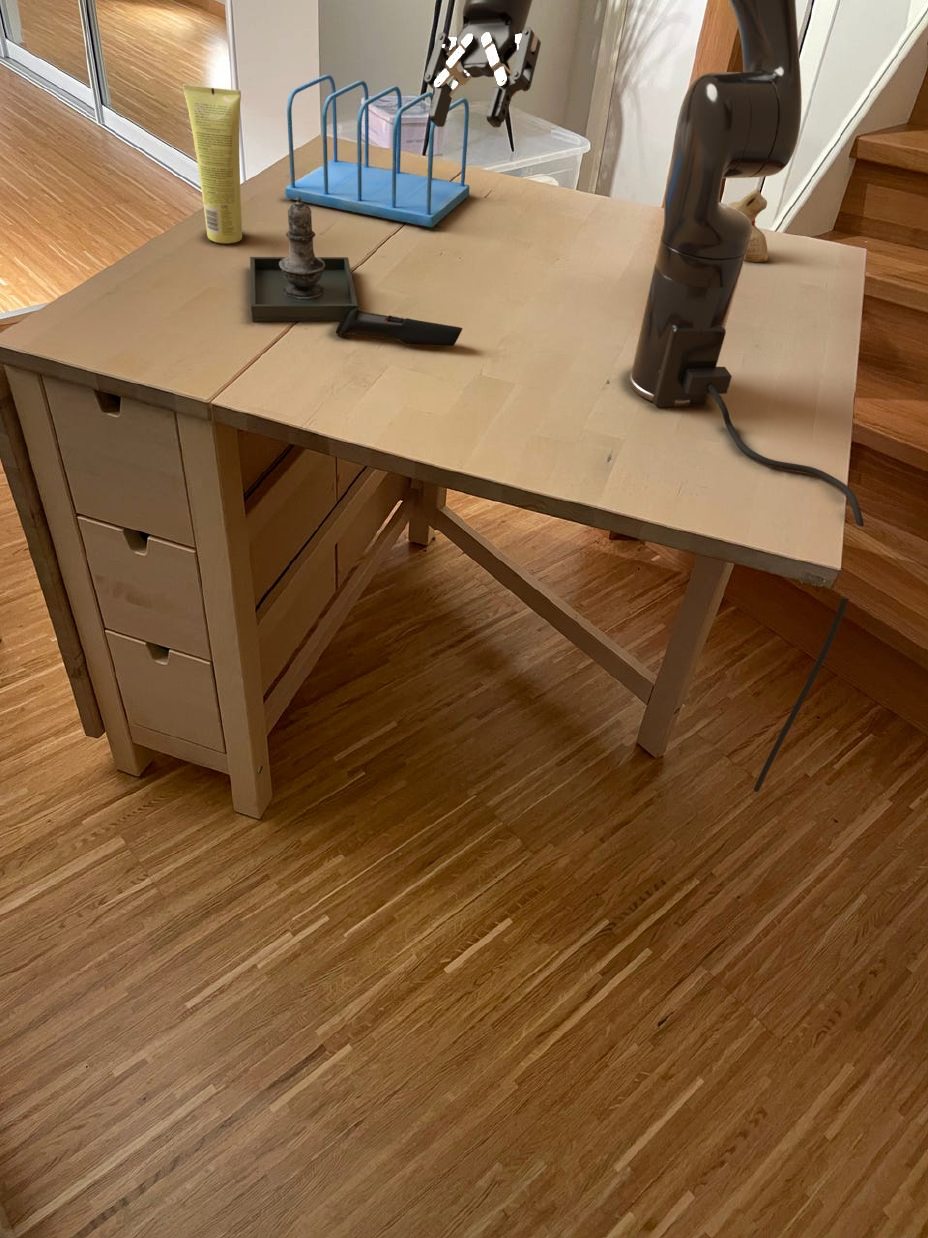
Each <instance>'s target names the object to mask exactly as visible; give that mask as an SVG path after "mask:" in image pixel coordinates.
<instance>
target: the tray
mask: <svg viewBox="0 0 928 1238" xmlns="http://www.w3.org/2000/svg"><path fill="white" fill-rule="evenodd" d="M285 257H286V256H250V257H249V265H250V266H249V270H250V271H249V276H250V280H249V281H250V312H251V322H340V321H341V319H342V317H343V316H344V314H345V312H346V311H347V309H348V310H350V311H352V310H354V309H356V308H357V309H359V304H358V299H357V295H356V290H355V285H354V280H353V279H354V278H353V274H352V270H351V265H350V259H349V257H348V256H317V257H318V258H320V259H321V260H323V261H324V263H325V268H324V269H323V273H322V276H321V279H320V280H319V281H318V282H317V284H319V285H320V286H321V287H322V288H323V290H324V291H323V294H322V295H321V296H319V297H317V298H313V299H295V298H291V297H289V296H287V295H285V294H284V292H283V288H284V287H285V285H287V284H288V283H289V282H288V281H287V280H286V279H285V277H284V275H283V273H282V269H281V268H280V266H279V262H280V261H281V260H282V259H283V258H285Z"/></svg>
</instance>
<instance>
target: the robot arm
mask: <svg viewBox="0 0 928 1238" xmlns="http://www.w3.org/2000/svg"><path fill="white" fill-rule="evenodd" d="M464 1H465V2H464V4H463V5H464V6H463V10H462V28H461V31H460V32H459V34H458V35H457V37H450V36H448V35H447V34H446V33H445V32H444V31H443V32H440V33H438V35H437V37H436V40H435V43H434V47H433V50H432V53H431V56H430V59H429V61H428V64H427V67H426V71H425V74H424V77H423V80H424V82H425V83H426V84H427V85H428V86H429V87H430V88H431V89H432V90H433V91H434V92H433V95H434V96H433V99H432V104H431V103H430V107H429V111H428V116H429V120H430V122H431V121H432V122H433V123H434V124H435V127H437V128H443V127H445V125H446V121H447V118H448V113H449V112H450V111H449V107H450V105H451V104H452V99H453V98H452V96H453V95H454V94H455V92H456V91H457V90H458V89H459V88H460V87H461V86H465V85H466V84H467V83H469V81H470V80H471V79H472V78H473V79H475V78H480V77H486V78H494V77H495V79H496V82H497V86H495V87H494V88H493V91H492V96H491V99H490V102H489V106H488V109H487V113H486V121H487V122H488V123H489V125H490V126H492V128H501V127H502V124H503V123H504V122H505V120H506V118H507V116H508V112H509V108H510V106H511V105H510V104H511V101H512V98H513V97H514V96H515V95H516V94H517V93H518V92H519V91H522V92H527V91H529V90H530V89H531V86H532V82H533V79H534V75H535V71H536V66H537V63H538V62H537V61H538V57H539V54H540V49H541V45H542V42H541V40H540V39H539V38H538V35H536V33H535V32H534V31H533V30H532V28H531V27H529V26H526V24H527V21H528V18H529V14H530V11H531V6H532V3H533V0H464ZM727 1H728V3H729V5H730V7H731V9H732V11H733V14H734V18H735V20H736V24H737V28H738V32H739V38H740V45H741V53H742V54H741V56H742V70H743V71H715V72H705V73H703V74H700V75H699V76H698V77H696V78H695V80H693V82H692V83H691V84H690V86H689V87H688V89H687V91H686V93H685V95H684V98H683V100H682V104H681V106H680V110H679V114H678V118H677V122H676V127H675V128H676V129H675V133H674V140H673V146H672V152H671V159H670V164H669V169H668V170H669V172H668V177H667V182H666V188H665V194H664V202H663V225H662V231H661V235H660V240H659V243H658V249H657V253H656V257H655V263H654V266H653V270H652V271H653V272H652V276H651V281H650V285H649V289H648V294H647V298H646V303H645V308H644V313H643V317H642V321H641V326H640V331H639V334H638V340H637V344H636V350H635V354H634V358H633V359H634V360H633V364H632V368H631V370H630V373H629V378H628V383H629V386H630V388H631V389H632V390H633V392H635V393H636V394H637V395H638V396H640V397H642V398H644V399H646V400H648V401H650V402H652V403H653V405H654V406H655V407H657V408H662V407H664V408H665V407H666V408H667V407H668V408H669V407H699V406H706V405H707V404H706V403H707V400H708V396H709V395H711V396H712V398H713V399H714V400H715V402H716V404H717V406H718V407H719V409H720V411H721V415H722V418H723V422H724V424H725V427H726V429H727V431H728V432H729V434H730V436H731V438H732V440H733V441H734V442H735V445H736V446H737V448H738V449H739V450H740V451H741V452H742V453H743V454H744V455H746V456H748V457H749V458H751V459H752V460H754V461H757V462H758V463H760V464H763V465H766V466H769V467H773V468H777V469H780V470H781V469H782V470H787V471H788V470H789V471H795V472H800V473H805V474H809V475H813V476H815V477H818V478H820V479H822V480H824V481H825V482H827V483H829V484H830V485H832V486H834V487H836V488H837V489H838V490H840V491H841V492H842V493H843V494H844V495H845V496H846V498H847V500H848V501H849V504H850V506H851V509H852V513H853V516H854V520H855V524H856V525H857V526H859V527H864V526H865V523H864V518H863V514H862V511H861V508H860V507H861V506H860V505H859V502H858V500H857V497H856V496H855V493H854V492H853V491H852V489H851V488H850V487H849V486H848V485H847V484H845V483H844V482H843V481H841V480H839V479H838V478H836V477H834V476H833V475H830V474H829V473H827V472H825V471H823V470H821V469H818V468H816V467H812V466H808V465H803V464H798V463H793V462H792V463H791V462H786V461H780V460H775V459H772V458H768V457H766V456H764V455H761V454H759V453H758V452H756V451H754V450H753V449H751V448H749V447H748V446H747V445H746V444H745V443H744V441H742V439H741V438H740V436H739V434H738V432H737V431H736V429H735V426H734V425H733V422H732V420H731V416H730V412H729V409H728V408H727V405H726V402H724V400H723V398H722V396H721V395H727V393H728V392H729V391H728V390H729V387H730V384H731V381H732V378H733V377H732V376H733V375H732V374H731V373H730V371H729V370H728V369H727V367H726V366H717V365H718V362H719V358H720V354H721V351H722V348H723V344H724V340H725V337H726V333H727V330H726V325H727V322H728V318H729V315H730V312H731V308H732V306H733V305H732V304H733V301H734V297H735V294H736V290H737V286H738V283H739V280H740V277H741V273H742V270H743V266H744V263H745V261H744V259H745V256H746V252H747V249H748V246H749V242H750V239H751V235H752V223H751V221H750V219H749V218H748V217H747V216H746V215H745V214H743V213H742V212H740V211H739V210H737V209H735V208H733V207H731V206H728V205H729V204H726V203H723V202H720V196H721V190H722V189H721V188H722V183H723V179H749V178H765V177H766V178H767V177H772V176H775V175H777V174H779V173H781V172H782V171H783V170H784V169H785V168H786V167H787V166H788V164H789V162H790V161H791V159H792V157H793V156H794V153H795V151H796V147H797V144H798V141H799V135H800V130H801V122H802V103H803V102H802V100H803V99H802V97H803V96H802V95H803V94H802V77H801V62H800V47H799V35H798V22H797V21H798V19H797V5H796V3H797V2H796V0H727ZM515 54H516V57H515V61H514V64H513V69H512V68H511V65H510V61H509V60H511V58H512V57H513V56H514V55H515ZM459 64H460V66H461V68H462V69H463V70H462V71H460V70H459V69H458V65H459ZM452 77H453V78H452ZM451 78H452V79H451ZM450 79H451V80H450ZM449 80H450V81H449ZM447 82H448V83H447ZM448 111H449V112H448ZM849 600H850V598H849V597H848V598H842V599H840V602H839V605H838V608H837V611H836V613H835V616H834V619H833V621H832V624H831V627H830V629H829V632H828V635H827V636H826V639H825V642H824V644H823V646H822V649H821V650H820V653H819V655H818V657H817V659H816V661H815V664H814V665H813V668H812V670H811V672H810V674H809V676H808V678H807V680H806V682H805V684H804V685H803V688H802V690H801V692H800V695H798V698H797V700H796V702H795V704H794V706H793V708H792V710H791V712H790V713H789V716H788V717H787V719H786V721H785V724H784V725H783V727H782V729H781V731H780V733H779V735H778V737H777V739H776V741H775V743H774V744H773V747H772V749H771V751H770V753H769V755H768V757H767V760H766V762H765V763H764V765H763V768H762V770H761V772H760V774H759V776H758V778H757V780H756V782H755V785H754V787H753V791H754V792H755V793H759V792H760V790H761V788H762V786H763V784H764V781H765V779H766V777H767V774H768V772H769V770H770V768H771V767H772V765H773V762H774V760H775V758H776V756H777V754H778V752H779V751H780V748H781V747H782V744H783V742H784V741H785V739H786V736H787V735H788V733H789V731H790V729H791V727H792V725H793V724H794V721H795V720H796V717H797V716H798V713H799V712H800V710H801V708H802V706H803V704H804V702H805V700H806V698H807V697H808V694H809V693H810V692H811V691H810V690H811V688H812V686H813V684H814V683H815V681H816V678H817V676H818V674H819V673H820V671H821V668H822V666H823V664H824V662H825V660H826V658H827V656H828V654H829V651H830V649H831V646H832V644H833V641H834V640H835V638H836V635H837V633H838V630H839V628H840V624H841V622H842V619H843V617H844V614H845V611H846V609H847V605H848V602H849Z"/></svg>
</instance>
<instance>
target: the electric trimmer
mask: <svg viewBox="0 0 928 1238" xmlns="http://www.w3.org/2000/svg"><path fill="white" fill-rule="evenodd" d="M462 331H463V328H462V327H460V326H454V325H448V324H442V323H436V322H430V321H426V320H425V321H424V320H419V319H412V318H407V317H406V318H404V317H397V316H393V315H390V314H389V315H386V314H385V315H384V314H378V313H373V312H365V311H362V310H360V309H359V308H358V309H357V308H356V309H354V310H352V311H350V310H348V309H347V311H346V312H345V314H344V316H343V317H342V319H341V321H339V323H338V325H337V327H336V330H335V335H339V336H340V337H341V338H344V337H345V335H347V334H351V335H358V336H364V337H365V336H366V337H373V338H380V339H387V340H388V339H389V340H396V341H399V342H400V343H402V344H404V345H414V346H432V347H433V346H434V347H454V346H455V345H456V343H457V341H458V339H459V337H460V335H461V334H462Z"/></svg>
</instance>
